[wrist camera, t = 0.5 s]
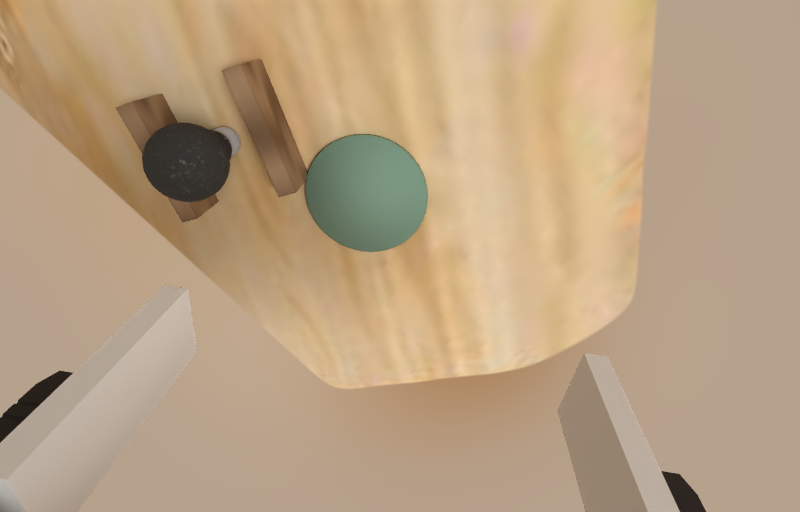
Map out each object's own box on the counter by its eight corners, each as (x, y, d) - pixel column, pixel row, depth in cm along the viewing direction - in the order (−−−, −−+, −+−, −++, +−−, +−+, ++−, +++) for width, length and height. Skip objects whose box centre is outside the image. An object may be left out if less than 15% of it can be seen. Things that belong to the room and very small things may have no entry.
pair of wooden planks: (147, 98, 36) (115, 107, 33) (261, 59, 34) (239, 64, 30) (205, 204, 40) (182, 222, 37) (309, 176, 38) (295, 192, 35)
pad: (288, 152, 37) (286, 154, 37) (408, 118, 35) (407, 119, 34) (332, 258, 42) (331, 261, 42) (440, 235, 40) (440, 238, 39)
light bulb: (223, 90, 35) (149, 115, 26) (274, 141, 37) (221, 180, 28) (187, 135, 37) (108, 172, 29) (237, 182, 39) (177, 229, 30)
